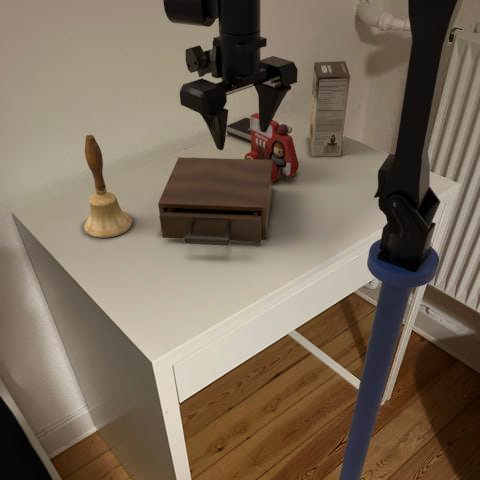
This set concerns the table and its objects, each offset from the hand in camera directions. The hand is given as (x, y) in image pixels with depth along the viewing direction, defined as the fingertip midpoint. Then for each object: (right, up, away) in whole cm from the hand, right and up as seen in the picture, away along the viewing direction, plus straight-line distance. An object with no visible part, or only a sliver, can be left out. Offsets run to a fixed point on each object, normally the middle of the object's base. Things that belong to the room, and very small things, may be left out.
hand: (242, 140), depth 80 cm
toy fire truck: (+6, +1, +22) cm, 22 cm away
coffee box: (+18, +9, +29) cm, 36 cm away
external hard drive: (+3, +13, +34) cm, 37 cm away
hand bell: (-23, -12, +9) cm, 28 cm away
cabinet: (-4, -9, +11) cm, 15 cm away
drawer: (-4, -11, +7) cm, 14 cm away
